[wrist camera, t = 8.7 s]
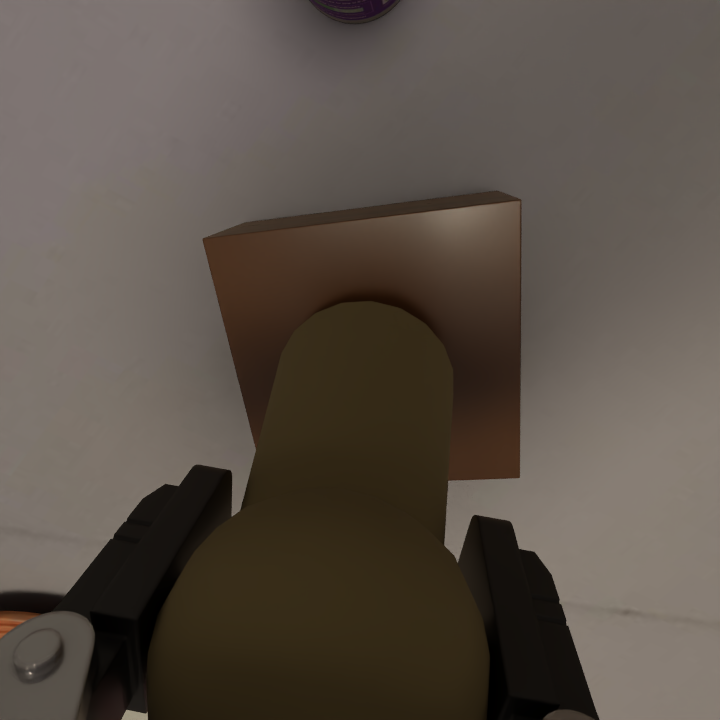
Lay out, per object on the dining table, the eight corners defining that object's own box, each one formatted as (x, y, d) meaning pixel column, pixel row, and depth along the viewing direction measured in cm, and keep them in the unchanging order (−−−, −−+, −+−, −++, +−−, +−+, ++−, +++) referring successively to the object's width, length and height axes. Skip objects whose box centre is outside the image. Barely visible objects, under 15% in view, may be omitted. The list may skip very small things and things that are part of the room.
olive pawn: (311, 271, 14) (99, 548, 4) (487, 344, 15) (664, 744, 5) (256, 422, 17) (40, 823, 7) (408, 481, 17) (417, 933, 7)
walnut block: (243, 222, 21) (201, 238, 16) (498, 190, 19) (521, 199, 15) (289, 433, 25) (265, 487, 21) (501, 422, 23) (520, 478, 19)
